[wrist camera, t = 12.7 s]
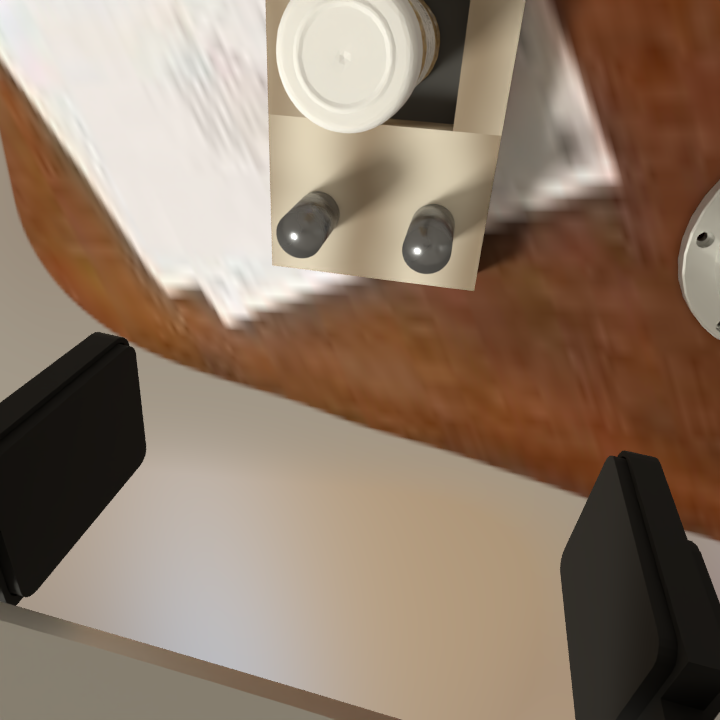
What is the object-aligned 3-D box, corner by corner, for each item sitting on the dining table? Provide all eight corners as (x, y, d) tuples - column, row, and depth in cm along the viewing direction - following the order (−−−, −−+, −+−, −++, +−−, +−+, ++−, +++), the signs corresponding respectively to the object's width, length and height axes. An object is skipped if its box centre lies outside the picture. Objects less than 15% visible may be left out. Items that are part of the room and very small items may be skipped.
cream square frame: (535, -75, 26) (550, -102, 20) (474, 274, 34) (472, 322, 29) (280, -87, 27) (228, -114, 22) (284, 250, 36) (249, 292, 30)
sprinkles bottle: (335, 35, 29) (242, 42, 18) (406, -34, 27) (353, -76, 16) (388, 111, 30) (334, 164, 19) (460, 51, 28) (448, 71, 17)
